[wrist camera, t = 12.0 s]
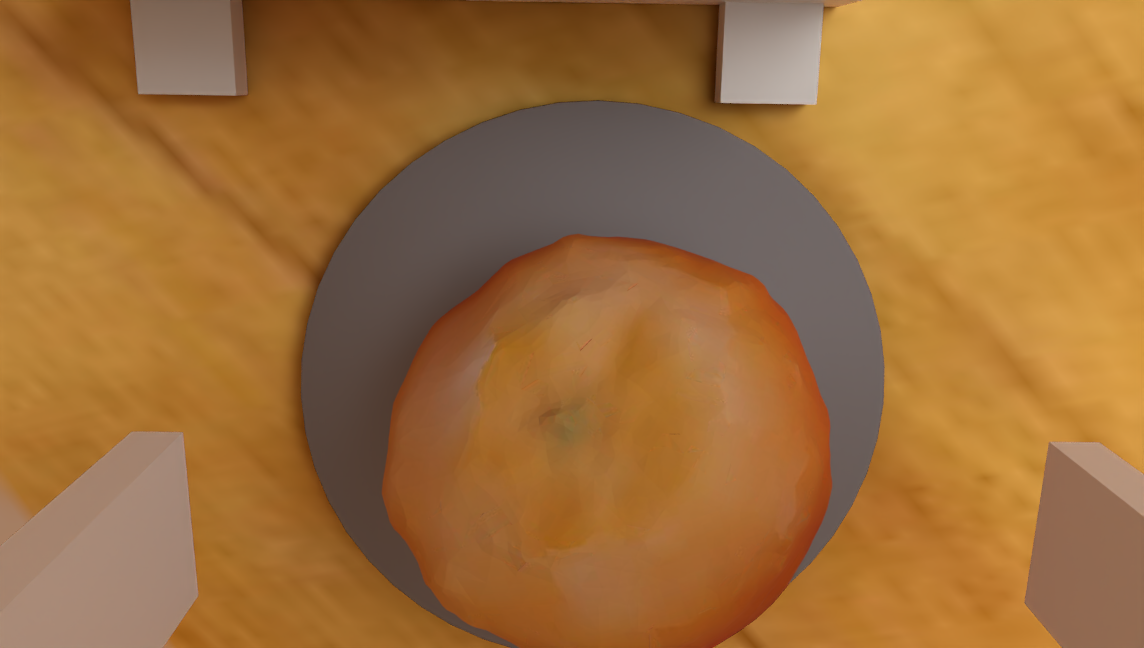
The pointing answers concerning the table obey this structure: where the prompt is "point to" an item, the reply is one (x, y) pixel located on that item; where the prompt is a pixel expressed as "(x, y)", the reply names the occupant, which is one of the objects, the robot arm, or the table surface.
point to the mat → (539, 218)
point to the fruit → (610, 450)
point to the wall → (746, 3)
